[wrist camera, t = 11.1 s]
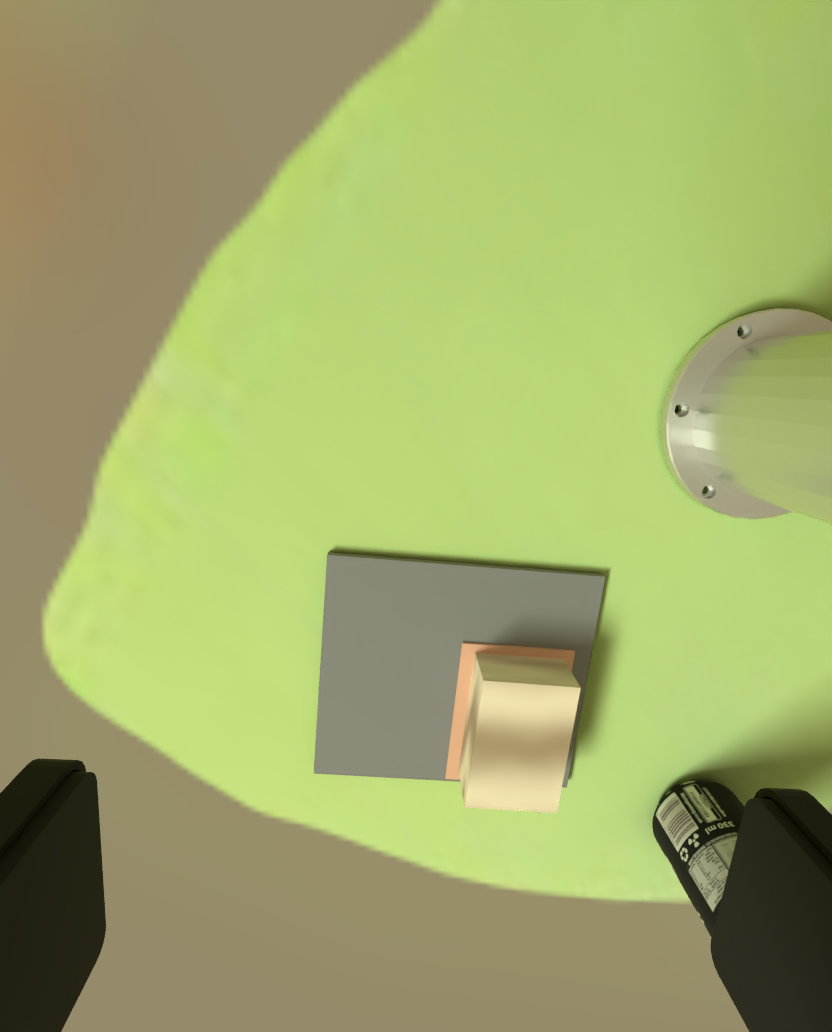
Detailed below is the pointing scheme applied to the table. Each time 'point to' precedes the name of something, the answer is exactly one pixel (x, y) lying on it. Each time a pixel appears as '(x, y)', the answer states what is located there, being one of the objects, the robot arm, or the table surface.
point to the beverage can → (699, 840)
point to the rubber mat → (433, 654)
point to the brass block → (517, 732)
